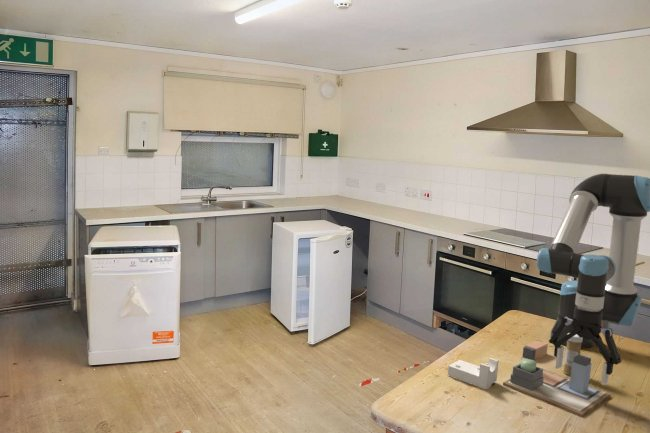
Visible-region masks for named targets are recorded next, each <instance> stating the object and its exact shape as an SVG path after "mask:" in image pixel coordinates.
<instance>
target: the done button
mask: <svg viewBox="0 0 650 433" xmlns="http://www.w3.org/2000/svg"><path fill="white" fill-rule="evenodd" d="M520 363H521V368H520V369H522V370H524V371H527V372H530V373H534V372H536V367H537V364H538V363H537V362H536V361H535V360H530V359H527V358H522V359H521V360H520Z"/></svg>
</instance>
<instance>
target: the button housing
mask: <svg viewBox="0 0 650 433" xmlns="http://www.w3.org/2000/svg"><path fill="white" fill-rule="evenodd" d="M520 368H521V362H520V363H519V364H516V365H514V366H513V367H512V374H510V378H509V379H510V382H511V383H513V384H516V385H518V386H521V387H523V388H526V389H528V390H531V391H532V390H534V389H536V388H538V387H539V386H541V385H543V379H544V377H543V370H544V368H541V367H539V366H536V372H534V373H530V372H527V371H524V370H522V369H520Z"/></svg>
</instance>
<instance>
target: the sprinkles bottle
mask: <svg viewBox="0 0 650 433" xmlns="http://www.w3.org/2000/svg"><path fill="white" fill-rule="evenodd" d="M568 334H569V333H568ZM568 334H567V335H568ZM582 339H583V338H582V337H579V336H578V335H577V334H576V335H575V336H573V337H572V338H570V339H569V340H568V341H567V346H566V347H565V354H564V355H565V356H564V365H563V371H562V372H563V373H564V374H565V375H566V376H569V377H571V369H572V362H573V360H574V357H575V356H577V355H579V354H580V355H581V350H582V348H581V343H582Z"/></svg>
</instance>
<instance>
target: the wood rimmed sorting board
mask: <svg viewBox="0 0 650 433" xmlns="http://www.w3.org/2000/svg"><path fill="white" fill-rule="evenodd" d="M543 377H544V379H543V385H541V386H539V387H538V388H536V389H534V390H532V391H531V390H528V389H526V388H523V387H521V386H518V385H516V384H513V383H511V382H510V379H511V378H509V379H508V380H505V381H503V382H502V385H503V386H505V387H507V388H510V389H512V390H515V391H517V392H519V393H522V394H525V395H527V396H529V397H531V398H534V399H536V400H540V401H542V402H545V403H547V404H549V405H551V406H554V407H556V408H559V409H561V410H563V411H566V412H569V413H571V414H574V415H576V416H579V417H581V418H583V417H584V416H585V415H587V414H588V413H590V412H591V411H592V410H594V409H595V408H596V407H598V406H599V405H601V404H602V403H604V402H605V401H606V400H608V399H609V398H610V397H611V394H612V393H609V392H607V391H604V390H601V389H598V388H596V387H593V386H591V385H589V388H588V390H587V391H586V392H584V393H583V394H582V393H580V392H577V391H574V390H572V389H569V385H570V378H568V377H565V376H563V375H560V374H557V373H554V372H552V371H549V370H546V369H543Z"/></svg>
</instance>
